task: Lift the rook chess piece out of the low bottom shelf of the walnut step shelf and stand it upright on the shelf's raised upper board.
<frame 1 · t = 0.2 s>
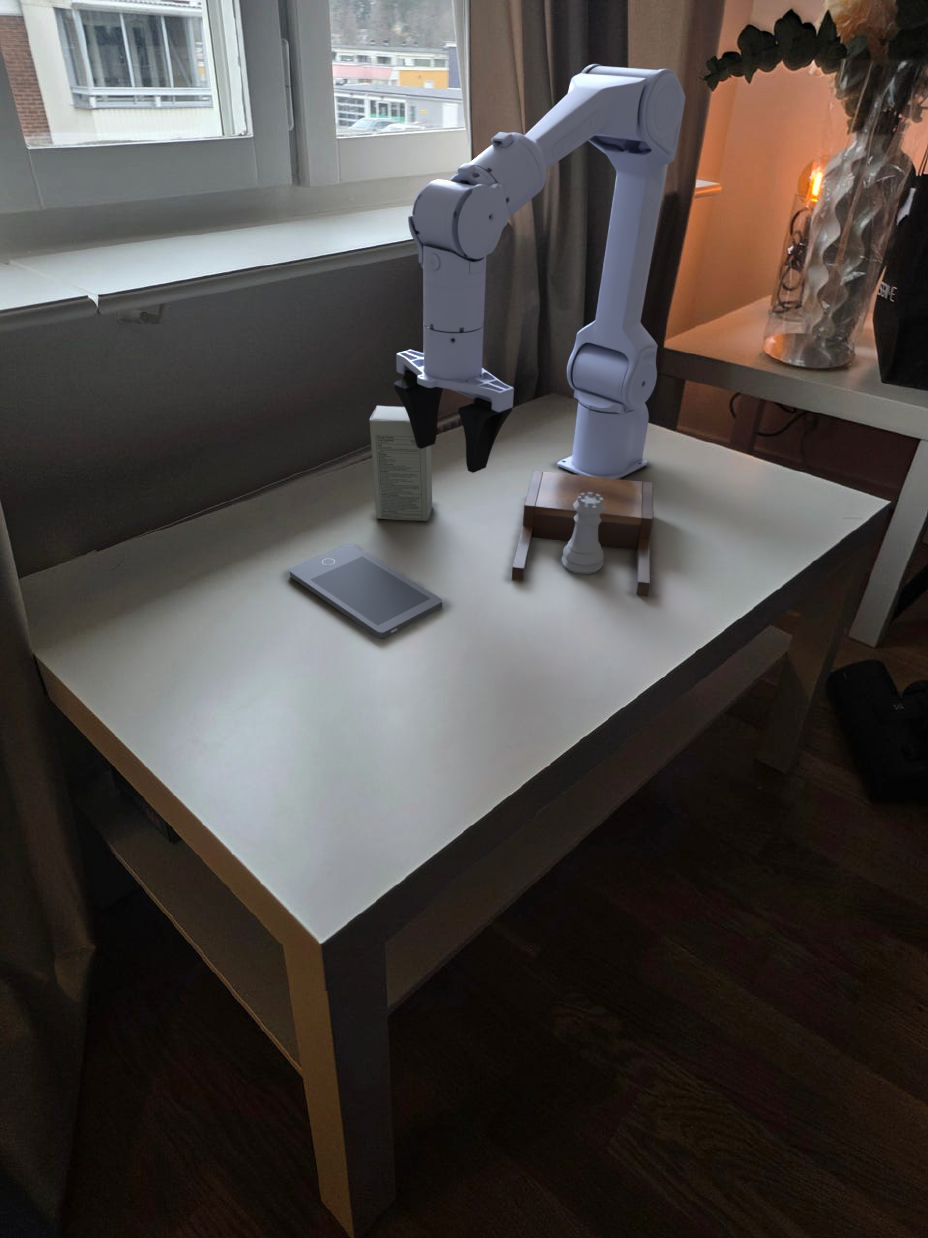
hand: (450, 457, 87), 10 cm above the table, tool pointing down, fingers open, 7 cm apart
step shelf: (584, 543, 93), on the table
smartphone: (365, 592, 84), on the table
rook chess piece: (581, 566, 90), on the table
cosmetic box: (403, 513, 98), on the table
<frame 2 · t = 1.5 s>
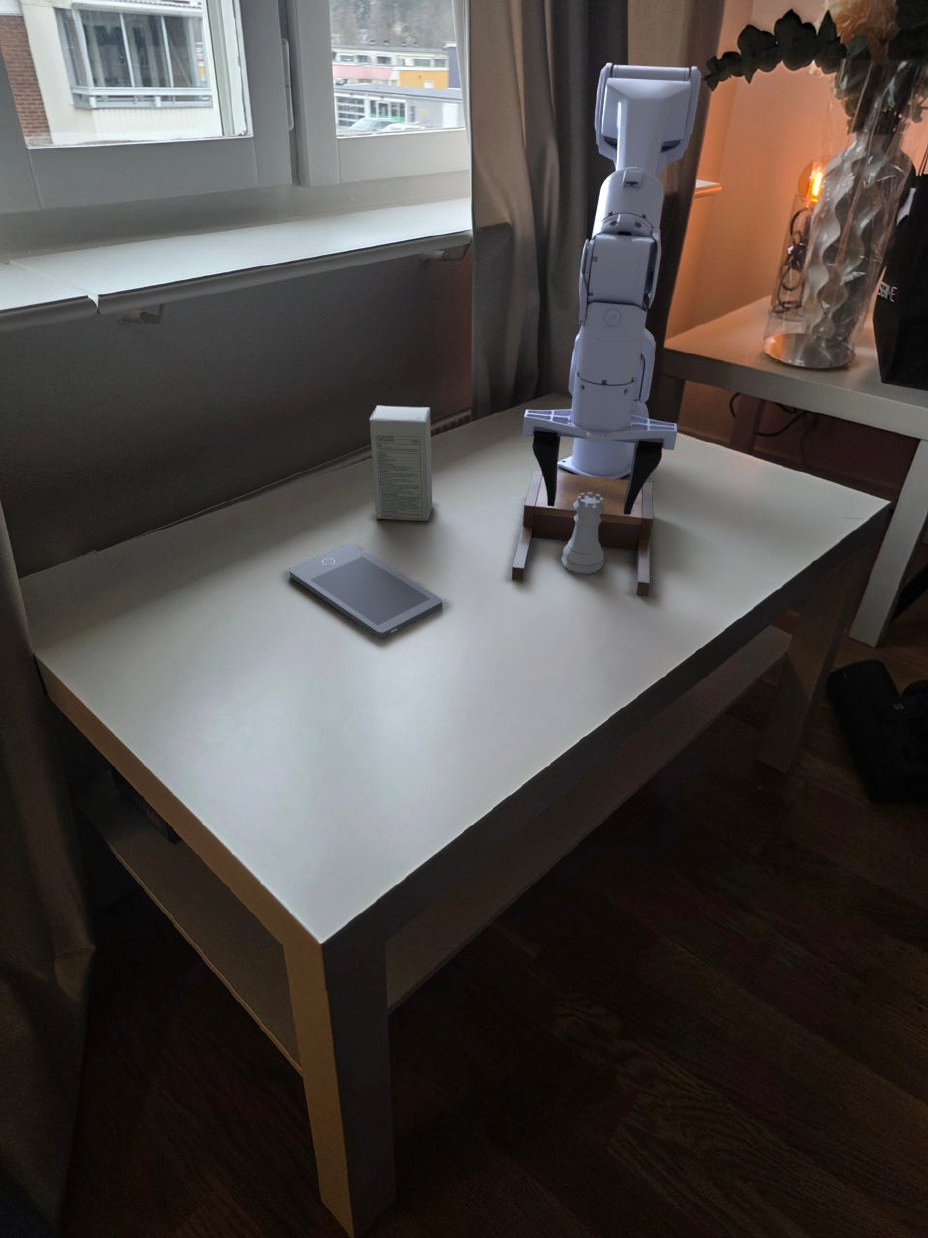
hand: (589, 505, 85), 7 cm above the table, tool pointing down, fingers open, 7 cm apart
nothing on the table moved.
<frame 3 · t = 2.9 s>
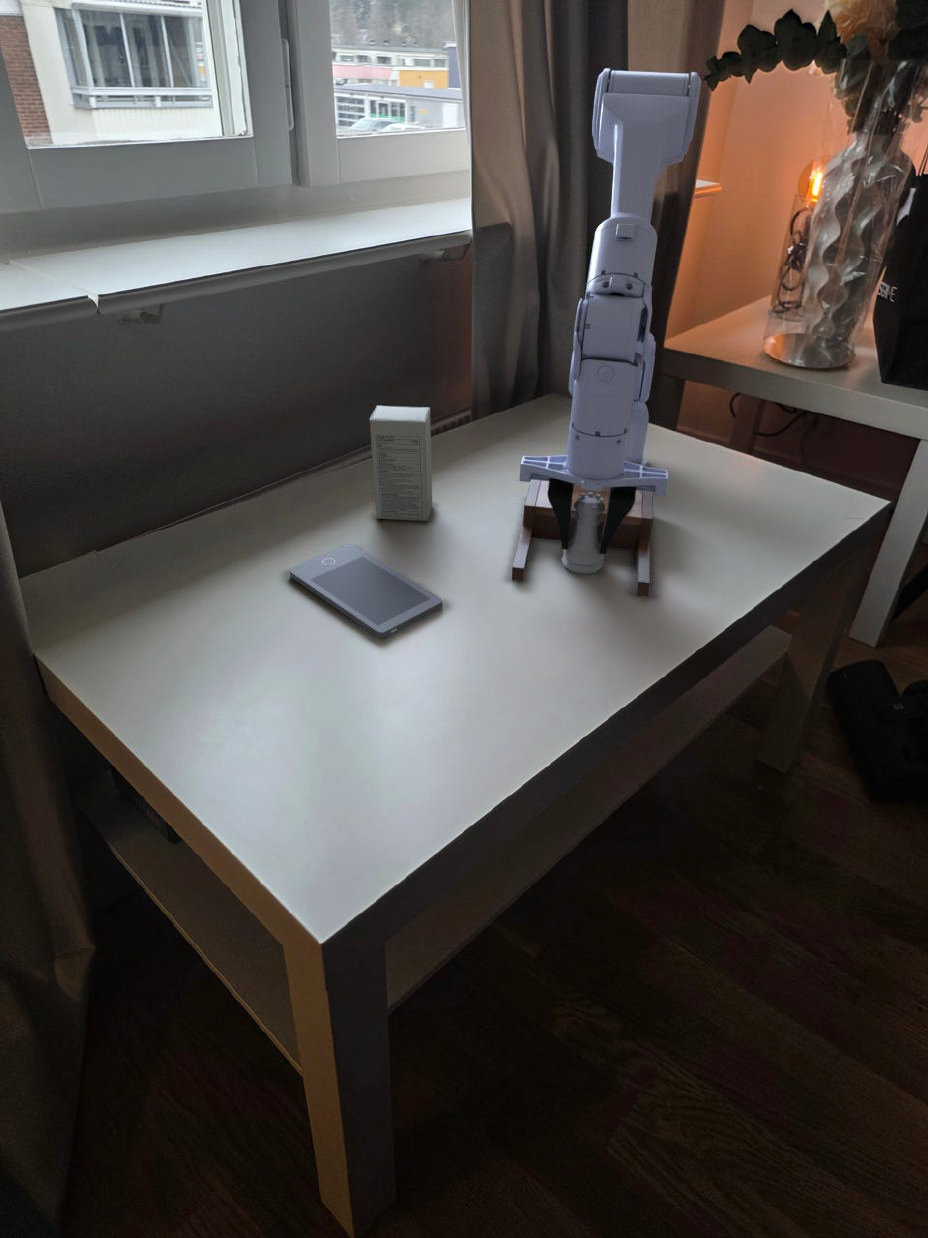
hand: (583, 547, 88), 2 cm above the table, tool pointing down, fingers closed on rook chess piece, 3 cm apart
rook chess piece: (581, 566, 90), on the table, touching gripper
everything else where it was.
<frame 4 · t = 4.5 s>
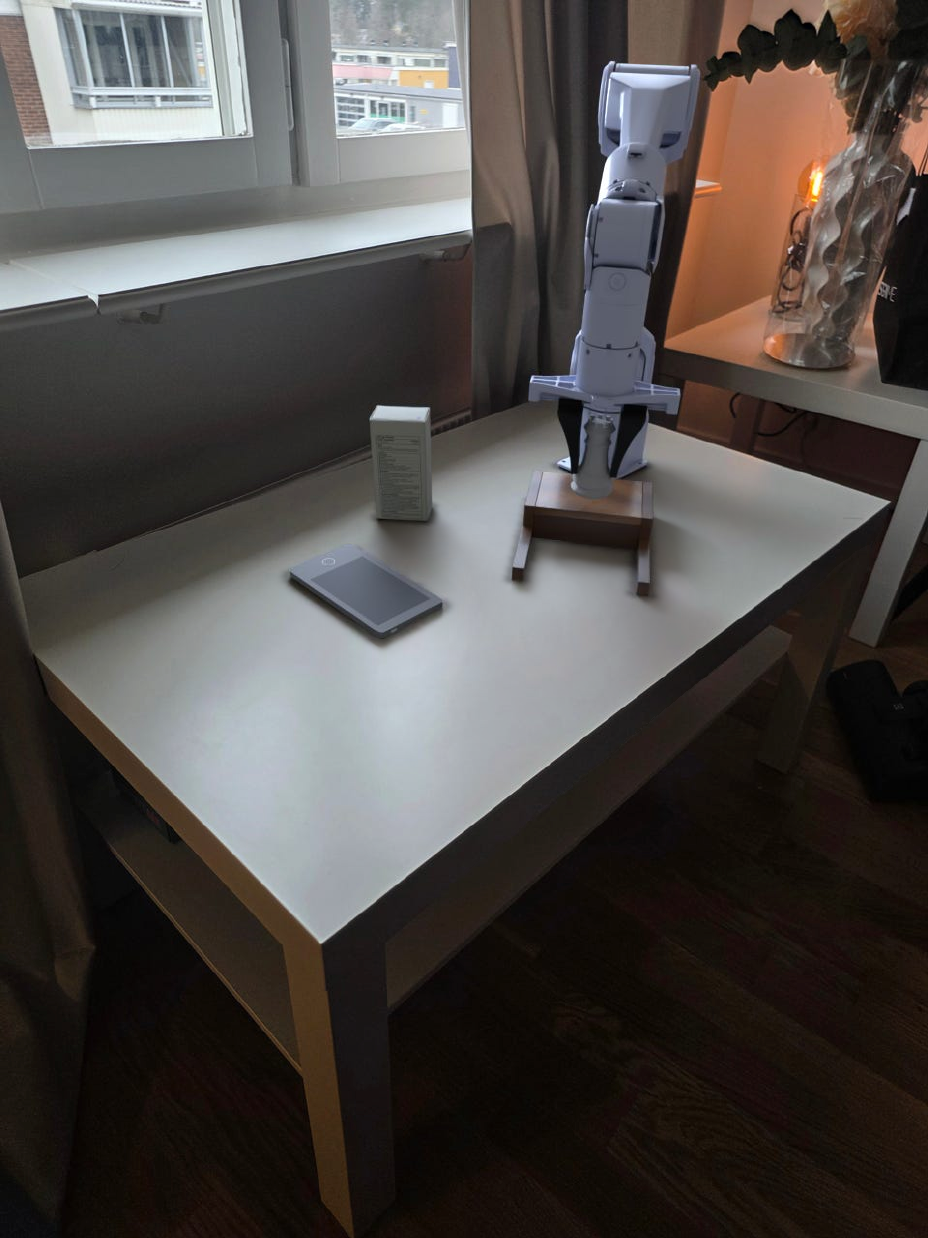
hand: (593, 471, 87), 9 cm above the table, tool pointing down, fingers closed on rook chess piece, 3 cm apart
rook chess piece: (591, 492, 88), point 7 cm above the table, touching gripper
everything else where it was.
when the fingers open (6 cm above the table, at t = 6.5 s): rook chess piece stays where it is, resting on step shelf.
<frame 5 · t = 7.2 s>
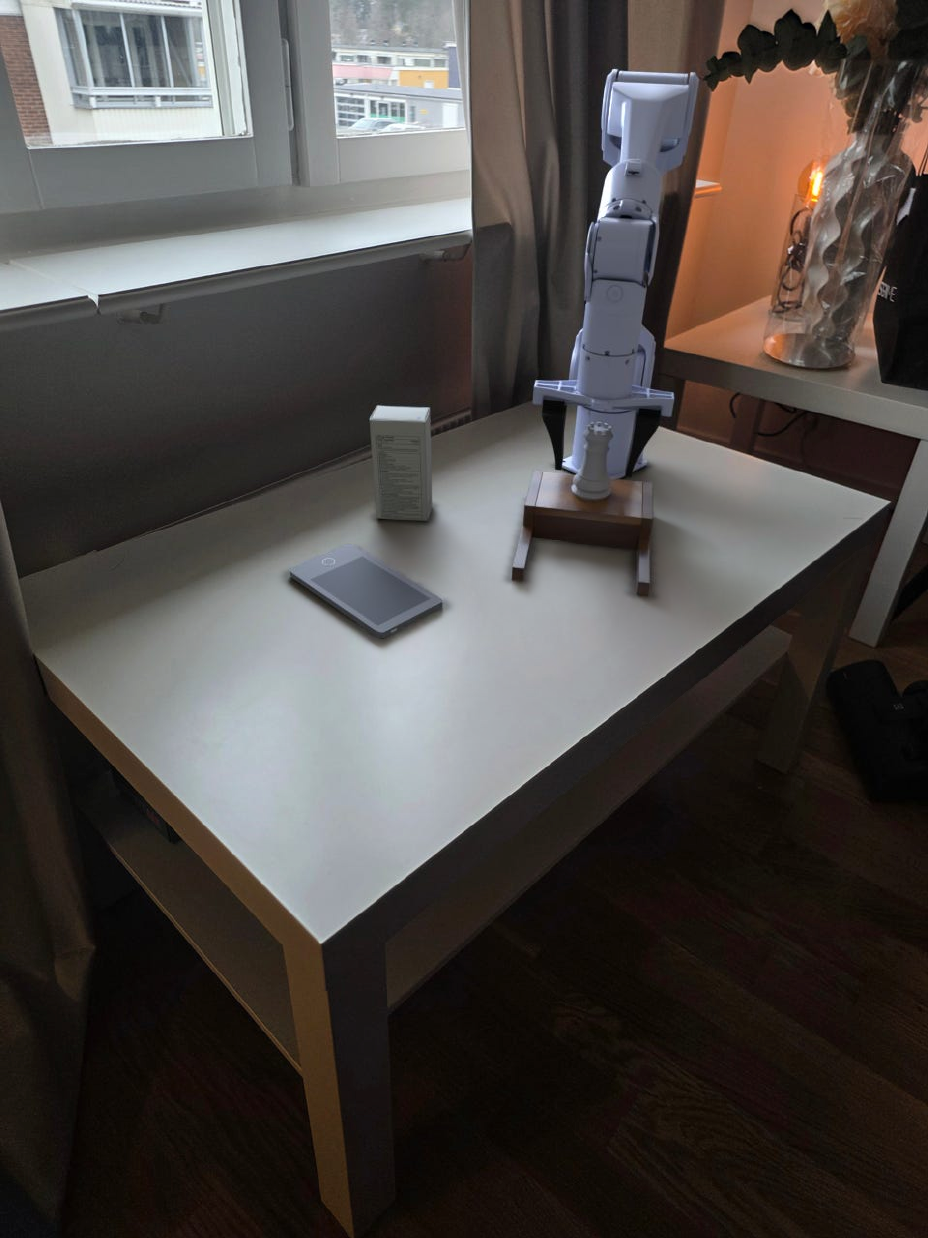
hand: (593, 469, 93), 7 cm above the table, tool pointing down, fingers open, 7 cm apart
rook chess piece: (590, 494, 95), point 4 cm above the table, touching step shelf
everything else where it was.
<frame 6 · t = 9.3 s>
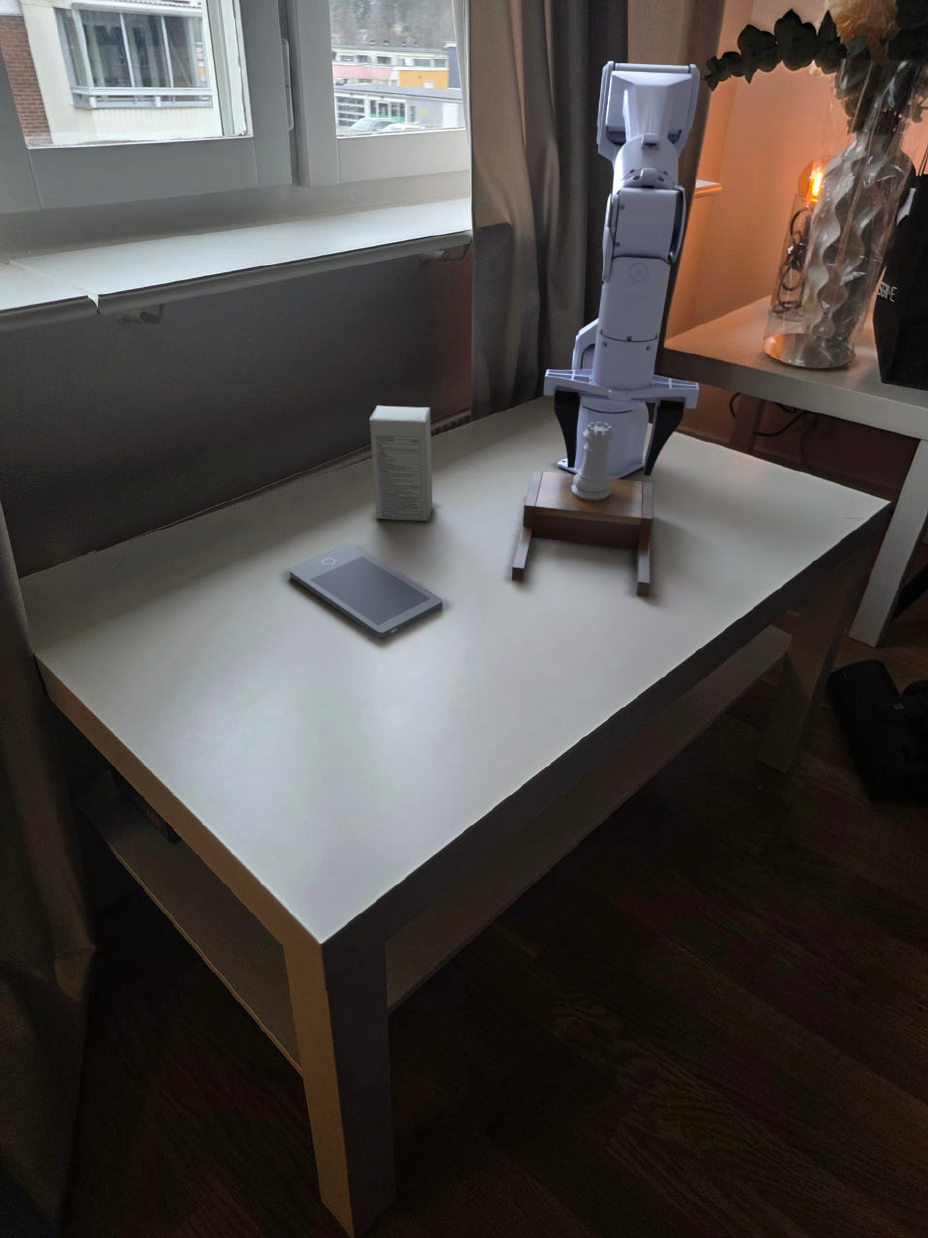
hand: (609, 467, 85), 10 cm above the table, tool pointing down, fingers open, 7 cm apart
nothing on the table moved.
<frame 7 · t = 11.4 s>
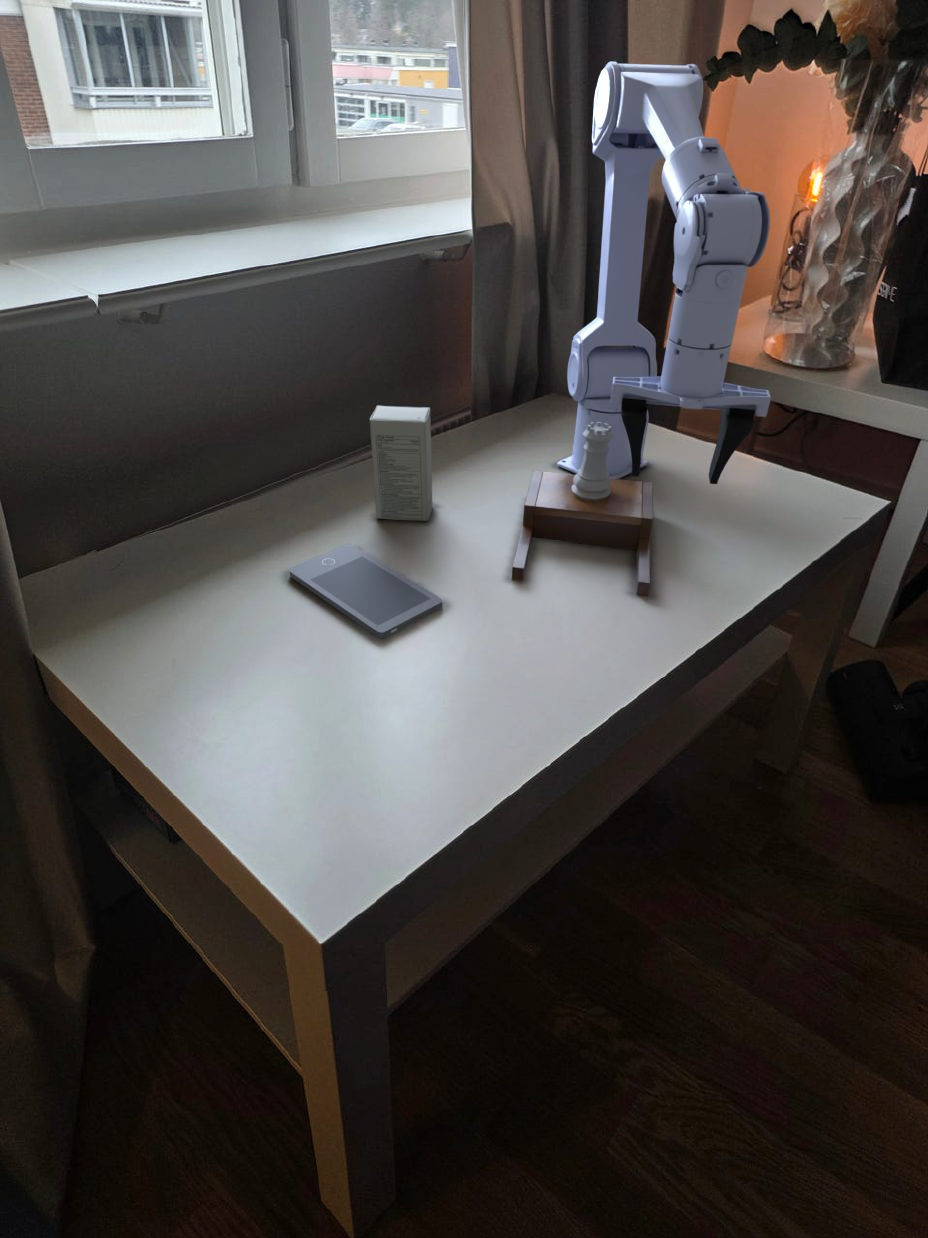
hand: (673, 475, 84), 10 cm above the table, tool pointing down, fingers open, 7 cm apart
nothing on the table moved.
at the end: rook chess piece 0.2 cm from the target spot on the step shelf, point 3.8 cm above the step shelf's base; rook chess piece tilted 0°; the gripper is holding nothing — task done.
